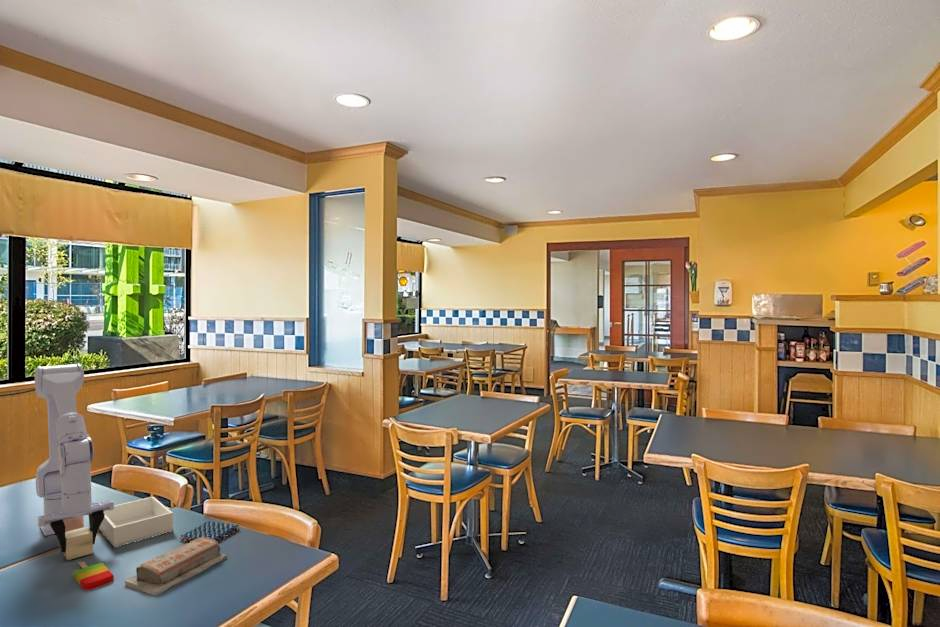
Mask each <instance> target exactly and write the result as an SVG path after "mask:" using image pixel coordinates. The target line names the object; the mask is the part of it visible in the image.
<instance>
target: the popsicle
mask: <svg viewBox="0 0 940 627" xmlns="http://www.w3.org/2000/svg"><path fill="white" fill-rule="evenodd" d="M78 565H79V566H80V567H81V568H79V569H77V570H76V569H75V570H74V571H73V572H72V578H73V579H74V578H75V579H74V580H75V581H76V582H77V584H78V585H79V586H80V587H81V588H82V590H83V591H90V590H93V589H97V588H100V587H102V585H103V586H105V584H106V585H108V584H107V583H109V584H111V583H113V582H114V580H115V579H114V573H113V572H111V571H110V570H109V568H108V567H107V566H106V565H105V564H104V563H103V562H99V563H96V564H92V565H88V564H87V563H86V562H85V561H80V562H78ZM112 581H113V582H112ZM110 582H111V583H110ZM99 586H100V587H99ZM96 587H97V588H96Z"/></svg>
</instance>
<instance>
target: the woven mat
mask: <svg viewBox="0 0 940 627" xmlns="http://www.w3.org/2000/svg"><path fill="white" fill-rule="evenodd" d="M239 526H240V525H239V524H235V523H225V522H221V521H218V522H216V521H210V520H209V521H205V522H204V523H203V524H200V525H199V526H197V527H195V528H194V529H190V531H189V532H188V531H187V532H186V533H185V534H181V535H180V538H179V540H181V541H182V540H183V541H182V543H185V542H184V541H187V542H188V541H193V540H195V539H198V538H200V537H206V538H209V539H215V540H216V541H219V542H221V541H222V540H223V539H225V538H224V537H226V535H229V536H230V535H232V534H234V533H235V532H236V531H235V530H237V529H239V530H240V528H239ZM237 531H238V530H237ZM233 532H234V533H233ZM231 533H232V534H231ZM222 538H223V539H222ZM226 538H227V537H226ZM221 539H222V540H221Z"/></svg>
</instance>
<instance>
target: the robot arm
mask: <svg viewBox="0 0 940 627" xmlns="http://www.w3.org/2000/svg"><path fill="white" fill-rule="evenodd" d="M84 383H85V371H84V367H83V365H82V364H81V363H76V364H75V363H73V364H60V365H48V366H40V365H38V366H36V368H35V370H34V386H35V388H34V389H35V390H34V391H35V392H34V393H35V394H36V396H37V397H38V398H44V400H45V403H46V406H47V431H48V432H47V433H48V434H47V436H48V457H49V458H48V459H47V460H45V461H44V462H43V463H41V464H40V465H39V466H37V469H36V472H35V474H36V476H35V490H36V491H35V492H36V495H37V497H38V498H43V515H40V516H37V525H38V527H39V529H41V531H42V533H43V535H44V536H45V537H47V536H51V535H54V534H55V536H56V537H57V540H58V542H59V543H60V548H61V549H60V548H59V549H60V551H61V553H62V554H63V553H64V552H66V543H65V528H66V526H65V525H64V522H63V521H64V520H68V519H72V518H76V517H81V516H83V517H84V516H88V525H89V528H90V530H91V531H92V532H93V546H94V545H95V544H96V539H97V535H98V532H99V530H100V529H99V527H100V525H101V523H102V521H103V519H104V516H105V514H104V511H106V510H109V511H110V510H114V505H115V504H114V503H115V502H114V501H113V500H112V499H111V500H110V499H109V500H105V501H98V502H97V501H96V502H92V466H91V463H92V462H93V461H94V456H95V455H94V454H95V452H94V451H95V448H94V444H93V441H92V440H93V439H92V438H91V436H90V434H88V432H87V428H86V423H85V418H84V416H83V415H82V414H80V413H78V406H77V395H76V394H77V393H79V392H80V390H81V388H82V386H83V385H84ZM59 543H58V544H59Z"/></svg>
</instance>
